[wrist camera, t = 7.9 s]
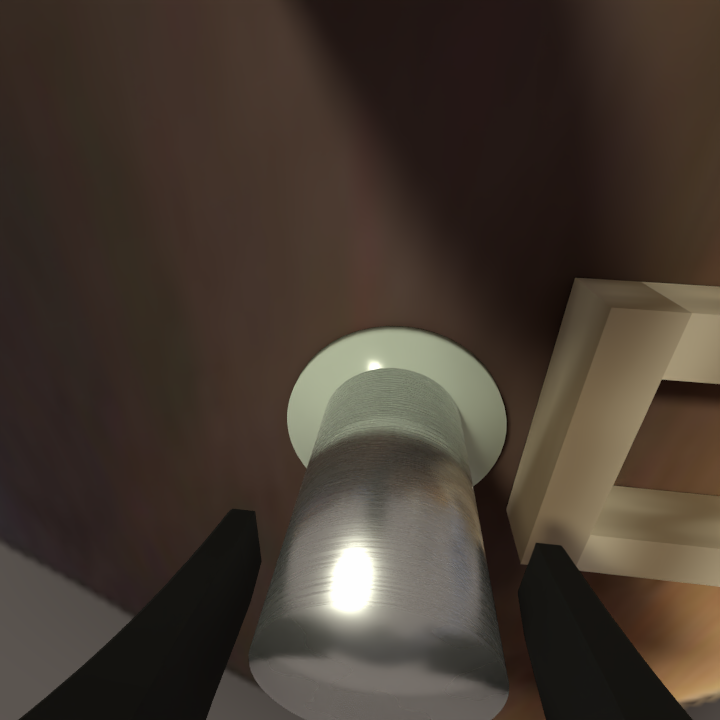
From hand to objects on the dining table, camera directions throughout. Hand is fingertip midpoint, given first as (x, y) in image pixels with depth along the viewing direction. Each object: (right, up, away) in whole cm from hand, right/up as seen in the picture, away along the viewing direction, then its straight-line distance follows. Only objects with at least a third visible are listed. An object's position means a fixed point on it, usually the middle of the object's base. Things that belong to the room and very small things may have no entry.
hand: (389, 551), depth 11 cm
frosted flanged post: (0, +3, +4) cm, 5 cm away
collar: (+11, +3, +4) cm, 12 cm away
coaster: (+1, +3, +5) cm, 6 cm away
